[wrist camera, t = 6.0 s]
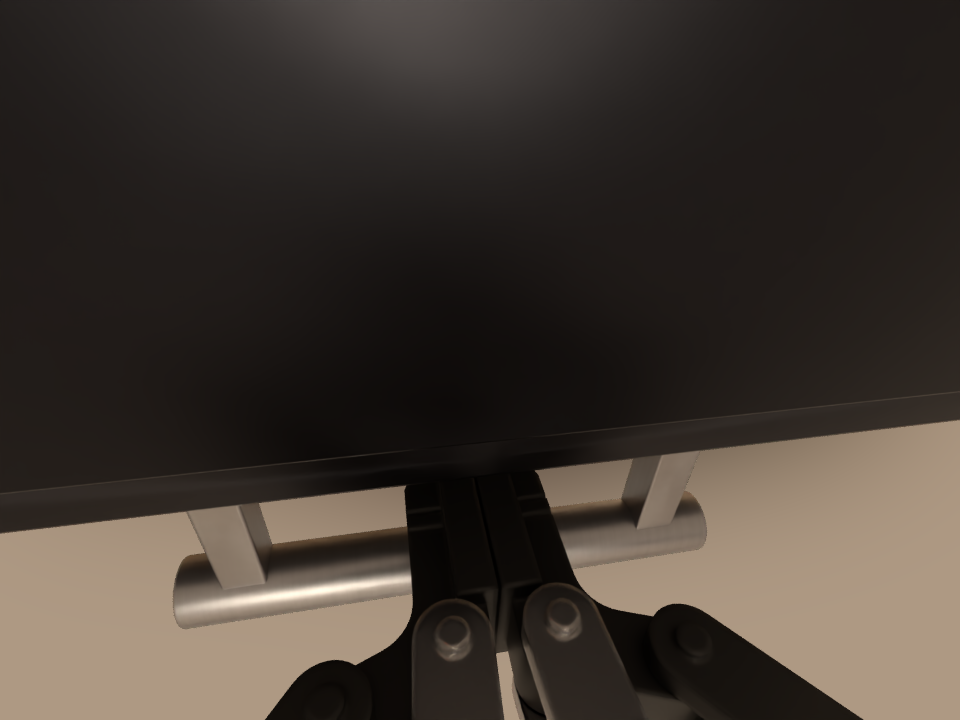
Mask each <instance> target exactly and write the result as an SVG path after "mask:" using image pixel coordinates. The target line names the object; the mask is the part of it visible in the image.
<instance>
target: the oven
mask: <svg viewBox="0 0 960 720" xmlns="http://www.w3.org/2000/svg"><path fill="white" fill-rule="evenodd" d="M956 392H960V0H0V494H8V493H17V492H27V491H36V490H46V489H55V488H64V487H74V486H83V485H92V484H102V483H111V482H121V481H130V480H139V479H149V478H158V477H167V476H177V475H186V474H196V473H205V472H214V471H224V470H233V469H243V468H252V467H261V466H271V465H280V464H289V463H299V462H308V461H318V460H327V459H336V458H346V457H355V456H364V455H374V454H383V453H393V452H402V451H411V450H421V449H430V448H440V447H449V446H458V445H468V444H477V443H486V442H496V441H505V440H515V439H524V438H533V437H543V436H552V435H561V434H571V433H580V432H590V431H599V430H608V429H618V428H627V427H637V426H646V425H655V424H665V423H674V422H683V421H693V420H702V419H712V418H721V417H730V416H740V415H749V414H759V413H768V412H777V411H787V410H796V409H805V408H815V407H824V406H834V405H843V404H852V403H862V402H871V401H880V400H890V399H899V398H909V397H918V396H927V395H937V394H946V393H956Z"/></svg>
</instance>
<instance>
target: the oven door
mask: <svg viewBox="0 0 960 720" xmlns="http://www.w3.org/2000/svg"><path fill="white" fill-rule="evenodd" d="M956 420H960V392H956V393H946V394H937V395H927V396H918V397H909V398H899V399H890V400H880V401H871V402H862V403H852V404H843V405H834V406H824V407H815V408H805V409H796V410H787V411H777V412H768V413H759V414H749V415H740V416H730V417H721V418H712V419H702V420H693V421H683V422H674V423H665V424H655V425H646V426H637V427H627V428H618V429H608V430H599V431H590V432H580V433H571V434H561V435H552V436H543V437H533V438H524V439H515V440H505V441H496V442H486V443H477V444H468V445H458V446H449V447H440V448H430V449H421V450H411V451H402V452H393V453H383V454H374V455H364V456H355V457H346V458H336V459H327V460H318V461H308V462H299V463H289V464H280V465H271V466H261V467H252V468H243V469H233V470H224V471H214V472H205V473H196V474H186V475H177V476H167V477H158V478H149V479H139V480H130V481H121V482H111V483H102V484H92V485H83V486H74V487H64V488H55V489H46V490H36V491H27V492H17V493H8V494H0V533H9V532H17V531H26V530H33V529H43V528H51V527H60V526H68V525H77V524H85V523H93V522H102V521H110V520H118V519H127V518H136V517H143V516H152V515H161V514H170V513H178V512H187V514H188V516H189V519H190V521H191V523H192V525H193V527H194V530H195V532H196V534H197V536H198V538H199V540H200V543H201V545H202V547H203V549H204V551H205V553H202V554H195V555H189V556H187V557H186V558H185V559H183V561H182V562H181V564H180V566H179V569H178V571H177V574H176V578H175V583H174V590H173V610H174V616H175V619H176V622H177V624H178V625H179V627H181V628H183V629H189V628H196V627H202V626H208V625H215V624H221V623H228V622H235V621H241V620H247V619H254V618H260V617H267V616H273V615H280V614H286V613H293V612H299V611H305V610H312V609H318V608H325V607H331V606H338V605H344V604H351V603H357V602H364V601H370V600H377V599H383V598H389V597H396V596H402V595H409V594H412V583H411V570H410V557H409V544H408V531H407V527H399V528H391V529H384V530H376V531H370V532H369V531H368V532H361V533H354V534H346V535H338V536H331V537H323V538H316V539H308V540H301V541H293V542H285V543H278V544H272V542H271V539H270V536H269V533H268V530H267V527H266V524H265V521H264V518H263V515H262V512H261V509H260V506H259V503H262V502H271V501H279V500H288V499H297V498H304V497H314V496H321V495H330V494H339V493H347V492H355V491H364V490H373V489H381V488H389V487H398V486H407V485H415V484H424V483H432V482H440V481H449V480H457V479H466V478H474V477H483V476H491V475H500V474H508V473H517V472H525V471H533V470H542V469H550V468H559V467H566V466H576V465H584V464H593V463H601V462H609V461H617V460H626V459H633V461H632V464H631V468H630V471H629V475H628V478H627V481H626V484H625V488H624V491H623V494H622V498H619V499H611V500H603V501H596V502H588V503H581V504H573V505H567V506H558V507H550V509H551V514H553V517H554V520H555V523H556V525H557V528H558V531H559V534H560V537H561V539H562V542H563V545H564V548H565V550H566V553H567V556H568V559H569V561H570V564H571V567H572V569H576V568H583V567H589V566H596V565H602V564H609V563H615V562H622V561H628V560H634V559H641V558H647V557H654V556H660V555H667V554H673V553H680V552H686V551H692V550H698V549H700V548H701V547H702V546H703V545H704V543H705V541H706V536H707V527H706V521H705V517H704V514H703V511H702V509H701V506H700V504H699V503H698V501H697V500H696V498H695V497H694V496H693V495H692V494H691V493H689V492H687V491H684V490H685V488H686V485H687V483H688V480H689V477H690V475H691V473H692V470H693V468H694V465H695V462H696V460H697V458H698V455H699V453H700V451H703V450H710V449H719V448H728V447H736V446H745V445H753V444H762V443H770V442H778V441H787V440H796V439H804V438H812V437H821V436H829V435H838V434H846V433H855V432H863V431H872V430H880V429H889V428H897V427H906V426H913V425H923V424H930V423H939V422H948V421H956Z"/></svg>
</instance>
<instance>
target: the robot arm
mask: <svg viewBox="0 0 960 720" xmlns="http://www.w3.org/2000/svg"><path fill="white" fill-rule="evenodd" d="M404 492H405V505H406V518H407V531H408V544H409V557H410V570H411V583H412V596H413V608H412V614H411V617H410V620H409V622H408V624H407V627H406V628H405V630H404V631H403V633H402V634H401V635H400V636H399V638H398V639H397V640H396V641H395V642H394V643H393V644H391V645H390V646H389V647H387V648H386V649H384V650H383V651H381V652H379V653H377V654H376V655H374V656H372V657H370V658H368V659H366V660H364V661H363V662H361V663H359V664H357V665H353V664H351V663H349V662H346V661H342V660H331V661H326V662H322V663H319V664H317V665H315V666H313V667H311V668H309V669H308V670H306V671H305V672H304V673H303V674H301V675H300V676H299V677H298V678H297V679H296V680H295V681H294V683H293V684H292V685H291V687H290V688H289V689H288V690H287V692H286V693H285V694H284V696H283V697H282V698H281V699H280V701H279V702H278V703H277V705H276V706H275V707H274V709H273V710H272V711H271V713H270V714H269V715H268V716H267V718H266V719H265V720H504V714H503V706H502V698H501V690H500V683H499V674H498V667H497V658H496V653H500V652H506V651H508V653H509V657H510V662H511V666H512V671H513V682H512V692H513V697H514V701H515V705H516V708H517V712H518V715H519V719H520V720H863V719H862V718H860V717H859V716H857V715H856V714H854V713H853V712H851V711H850V710H848V709H847V708H845V707H844V706H842V705H841V704H839V703H838V702H836V701H835V700H833V699H832V698H831V697H829V696H828V695H826V694H825V693H823V692H822V691H820V690H819V689H817V688H816V687H814V686H813V685H811V684H810V683H808V682H807V681H806V680H804V679H803V678H801V677H800V676H798V675H797V674H795V673H794V672H792V671H791V670H789V669H788V668H786V667H785V666H783V665H782V664H780V663H779V662H778V661H776V660H775V659H773V658H771V657H770V656H769V655H767V654H766V653H764V652H763V651H761V650H760V649H758V648H757V647H755V646H754V645H752V644H751V643H749V642H748V641H746V640H745V639H744V638H742V637H741V636H739V635H738V634H736V633H735V632H733V631H731V630H730V629H729V628H727V627H726V626H724V625H723V624H721V623H720V622H718V621H717V620H715V619H714V618H713V617H711V616H710V615H708V614H707V613H705V612H703V611H702V610H700V609H698V608H695V607H693V606H689V605H686V604H671V605H667V606H665V607H663V608H661V609H660V610H658V611H657V612H656V614H655V615H654V616H647V615H642V614H636V613H630V612H625V611H619V610H615V609H611V608H609V607H606V606H604V605H602V604H600V603H598V602H597V601H595V600H594V599H593V598H591V597H590V596H589V595H588V594H587V593H586V592H585V591H584V590H583V589H582V587H581V586H580V585H579V583H578V581H577V579H576V577H575V575H574V573H573V570H572V567H571V564H570V561H569V559H568V556H567V553H566V550H565V548H564V545H563V542H562V539H561V537H560V534H559V531H558V528H557V525H556V523H555V520H554V517H553V514H551V509H550V506H549V503H548V501H547V498H545V492H544V490H543V487H542V484H541V481H540V479H539V476H538V474H537V473H536V472H535V471H534V470H533V471H525V472H517V473H508V474H500V475H491V476H483V477H474V478H466V479H457V480H449V481H440V482H432V483H424V484H415V485H407V486H406V488H405V491H404Z"/></svg>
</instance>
